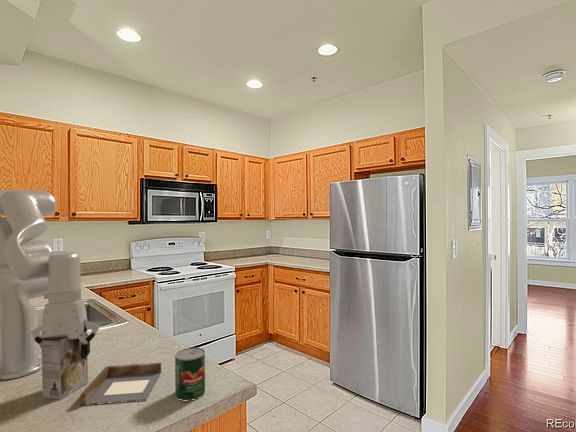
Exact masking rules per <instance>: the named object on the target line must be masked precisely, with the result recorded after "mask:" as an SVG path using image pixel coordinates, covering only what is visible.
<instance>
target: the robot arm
mask: <svg viewBox="0 0 576 432" xmlns="http://www.w3.org/2000/svg"><path fill="white" fill-rule="evenodd" d="M56 209H57V201H56V199H55V196H54V195H53V194H52V193H50V192H48V191H46V190H34V189H11V190H10V189H9V190H8V189H0V271H2V272H5V273H2V274H1V275H0V380H4V381H5V380H12V379H17V378H21V377H25V376H28V375H31V374H33V373H36V372H37V371H39V370H42V358H39V347H40V348H42V344H41V339H42V338H49V337H68V339H69V340H73V339H79V340H80V341H81V342H82V343H83V344H82V345H81V358H82V359H84V358H86V357H87V358H88V356H89V354H90V353H91V341H92V340H93V339H94V337H96V336H97V333H98V332H99V330H100V325H99V324H96V323H94V322H91V321H89V320H88V315H87V309H86V305H85V304H86V303H85V302H84V299H82V285H81V281H82V280H81V277H82V276H81V275H82V274H81V256H80V254H79V253H77V252H73V251H72V252H71V251H70V252H68V251H65V250H53V249H52V246H51V245H50V244H49V243H48V242H47V241H45V240H42V239H41V240H40V239H37V238H39V237H41V236H42V235H43V234H45V233H46V231H47V230H48V223H47V221H46V219H45V217H47V216H48V217H49V216H52V215H53V214H55V212H56V211H57V210H56ZM3 216H5V218H3ZM40 297H43V299H44V300H47V302H48V303H45V305H44V307H43V308H44V309H43V314H42V321H41V325H40V326H39V325H38V324H39V323H38V320H39V319H38V316H39V315H38V310H37V308H36V307H35V306H34V305H33V304H31V302H30V301H29V300H31V299H35V298H40ZM88 329H90V330H91V331H90V334H88Z"/></svg>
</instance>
